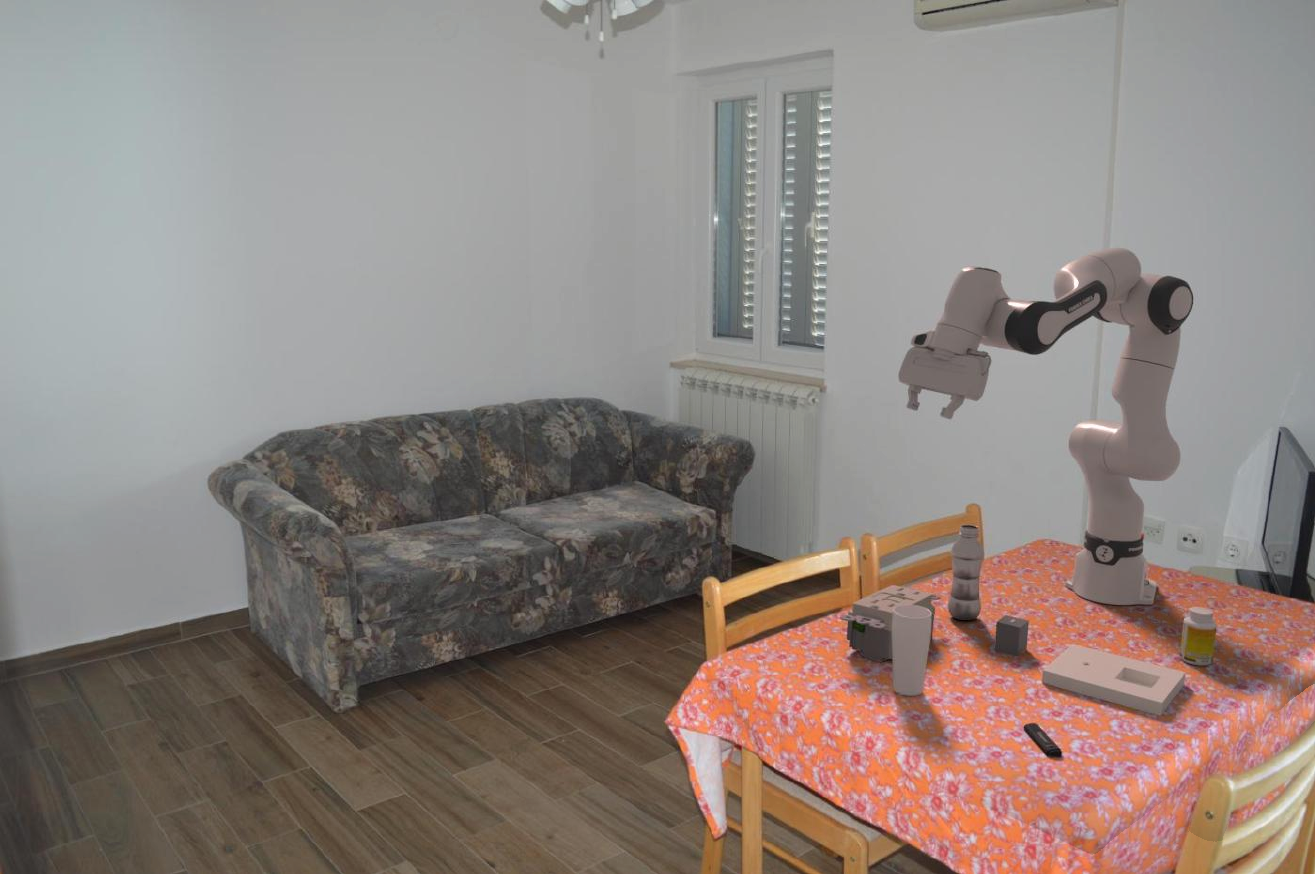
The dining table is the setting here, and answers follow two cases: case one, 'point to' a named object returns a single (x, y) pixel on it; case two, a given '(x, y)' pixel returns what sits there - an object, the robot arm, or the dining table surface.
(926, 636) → the drinking glass
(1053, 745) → the usb stick
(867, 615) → the electrical outlet
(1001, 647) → the block
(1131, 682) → the outlet plate
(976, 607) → the plastic bottle
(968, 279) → the robot arm
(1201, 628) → the supplement bottle
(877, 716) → the dining table surface
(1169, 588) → the dining table surface
